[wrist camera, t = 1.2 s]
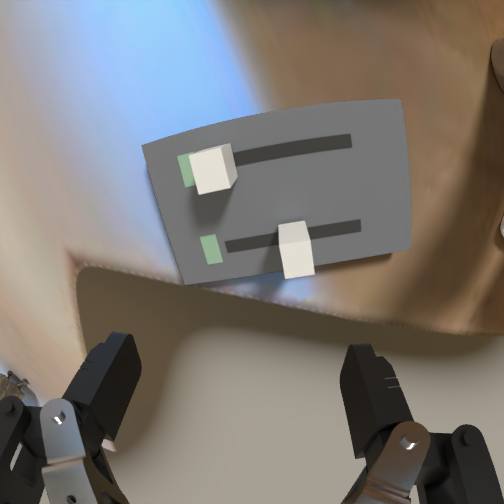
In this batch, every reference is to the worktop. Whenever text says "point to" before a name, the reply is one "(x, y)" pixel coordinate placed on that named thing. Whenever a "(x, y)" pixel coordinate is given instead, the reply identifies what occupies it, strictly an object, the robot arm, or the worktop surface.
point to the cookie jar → (502, 227)
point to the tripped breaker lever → (295, 250)
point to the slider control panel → (288, 188)
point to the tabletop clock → (10, 387)
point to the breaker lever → (213, 168)
